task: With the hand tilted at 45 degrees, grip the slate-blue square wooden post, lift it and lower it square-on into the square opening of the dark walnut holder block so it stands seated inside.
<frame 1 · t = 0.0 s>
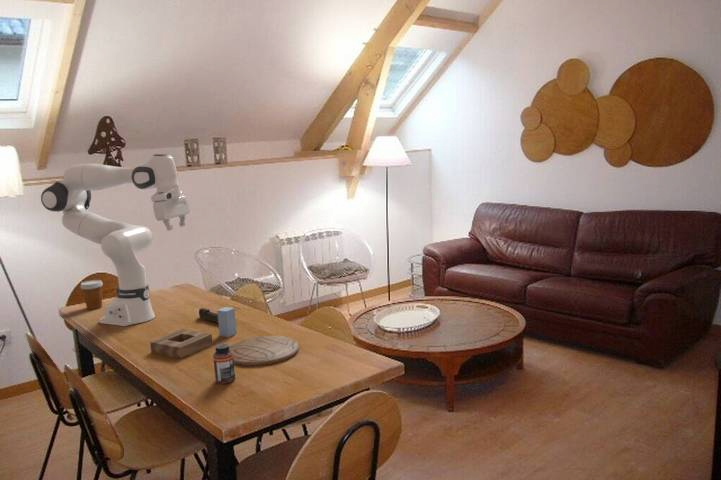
hand: (176, 228, 237), 39 cm above the table, tool pointing down, fingers open, 8 cm apart
trivet: (262, 353, 204), on the table
walnut holder: (182, 348, 212), on the table
hand tool: (212, 322, 241), on the table
supplement bottle: (225, 381, 182), on the table
square post: (228, 334, 224), on the table
disposable coffee cup: (94, 308, 271), on the table
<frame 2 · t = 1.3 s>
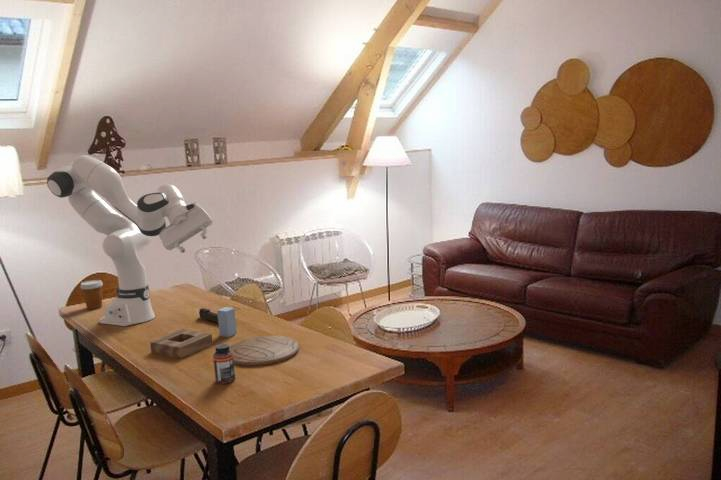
hand: (194, 244, 219), 35 cm above the table, tool tilted 50°, fingers open, 8 cm apart
nothing on the table moved.
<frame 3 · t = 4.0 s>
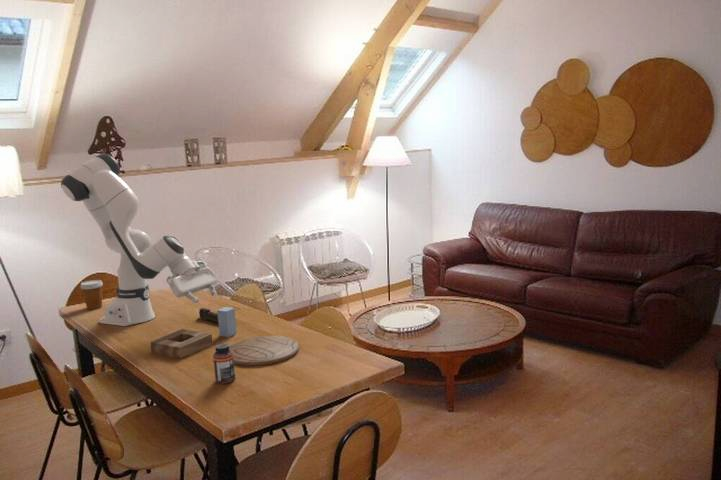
hand: (206, 298, 226), 14 cm above the table, tool tilted 45°, fingers open, 8 cm apart
nothing on the table moved.
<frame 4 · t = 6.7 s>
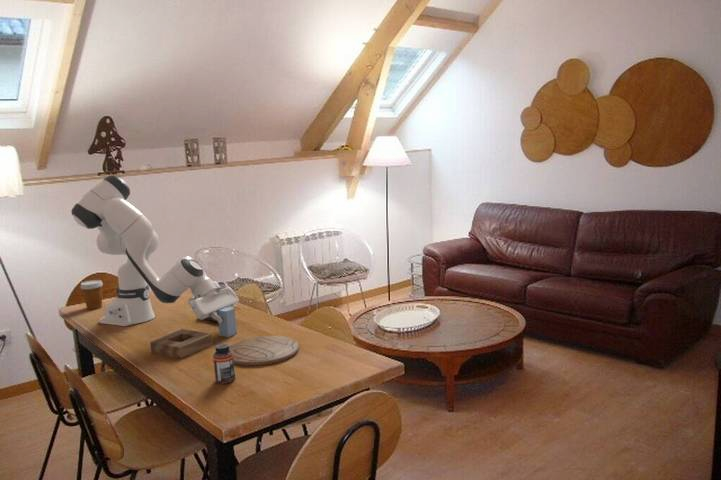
hand: (228, 319, 223), 6 cm above the table, tool tilted 45°, fingers closed on square post, 4 cm apart
square post: (228, 334, 224), on the table, touching gripper
everything else where it was.
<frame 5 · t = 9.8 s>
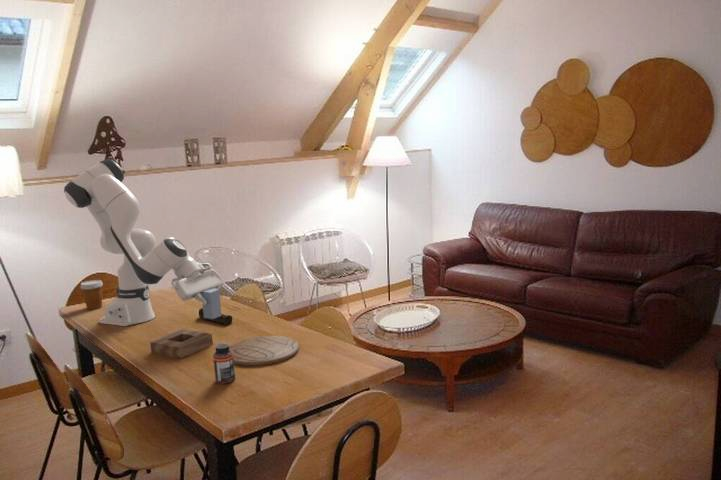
hand: (212, 301, 218), 14 cm above the table, tool tilted 45°, fingers closed on square post, 4 cm apart
square post: (212, 316, 219), point 8 cm above the table, touching gripper
everything else where it was.
when the fingers open (7 cm above the table, at t = 12.8 s): square post drops 2 cm, resting in walnut holder.
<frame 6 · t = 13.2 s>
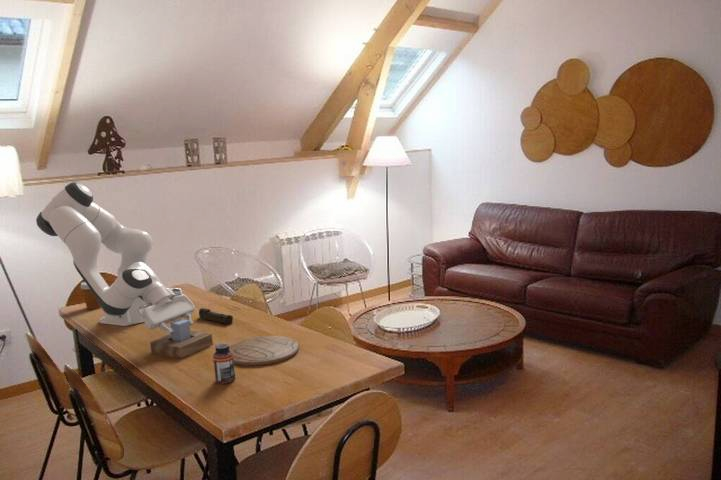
hand: (181, 329, 210), 7 cm above the table, tool tilted 45°, fingers open, 8 cm apart
square post: (182, 348, 212), resting in walnut holder
everything else where it was.
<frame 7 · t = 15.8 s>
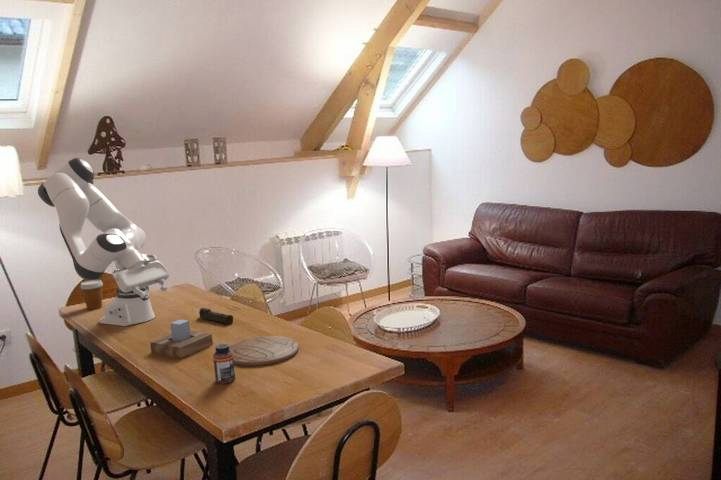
hand: (155, 293, 214), 19 cm above the table, tool tilted 45°, fingers open, 8 cm apart
nothing on the table moved.
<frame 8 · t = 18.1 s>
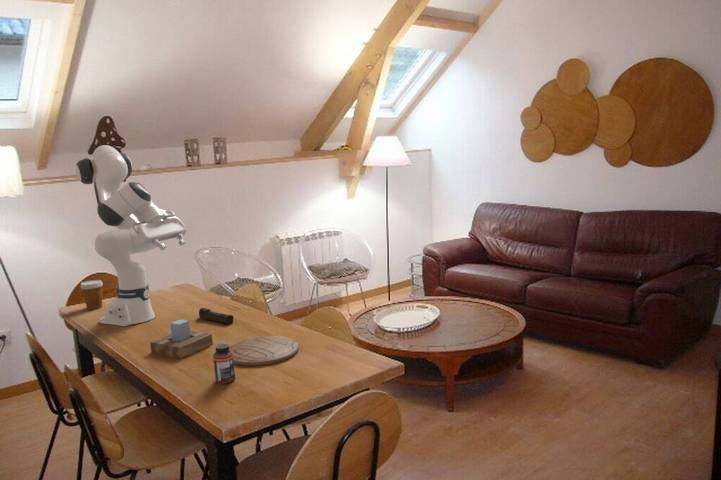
hand: (173, 246, 222), 34 cm above the table, tool tilted 45°, fingers open, 8 cm apart
nothing on the table moved.
at the end: square post 0.1 cm off-centre on the walnut holder, point 0.0 cm above the walnut holder's base; square post tilted 0°; the gripper is holding nothing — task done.
